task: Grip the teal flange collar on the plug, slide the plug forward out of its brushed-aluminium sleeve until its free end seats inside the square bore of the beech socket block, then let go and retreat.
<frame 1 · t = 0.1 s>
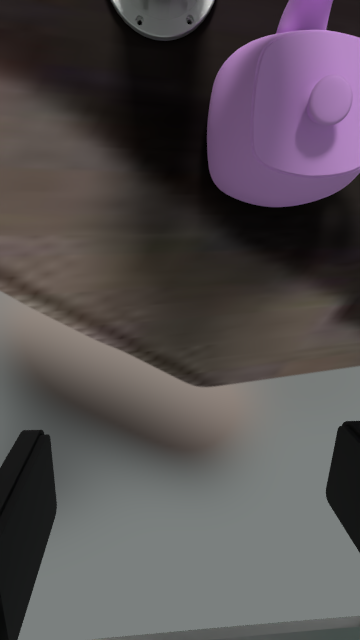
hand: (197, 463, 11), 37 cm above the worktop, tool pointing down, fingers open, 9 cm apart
teapot: (269, 132, 42), on the worktop
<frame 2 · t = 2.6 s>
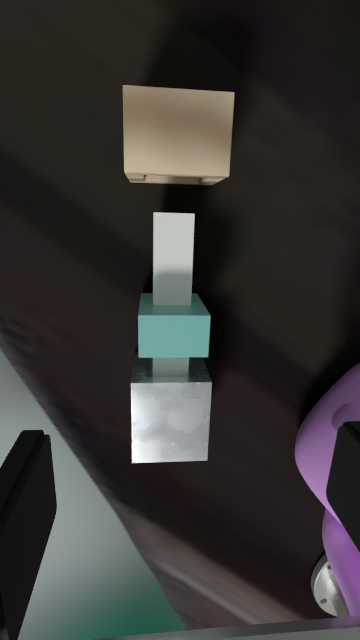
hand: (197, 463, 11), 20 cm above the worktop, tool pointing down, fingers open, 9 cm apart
plug: (170, 337, 26), point 4 cm above the worktop, slide at 0.0 cm
sleeve: (167, 386, 32), on the worktop
socket: (171, 152, 26), on the worktop
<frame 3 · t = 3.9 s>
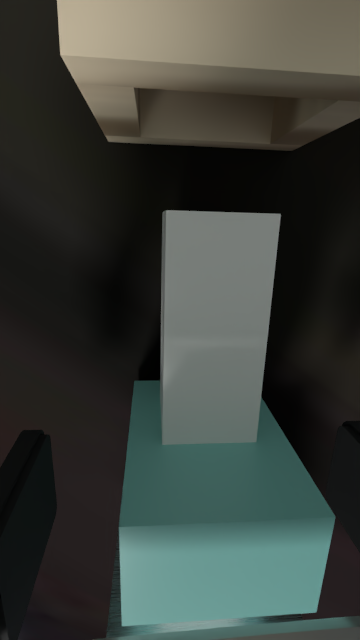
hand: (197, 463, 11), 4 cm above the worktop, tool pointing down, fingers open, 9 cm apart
plug: (202, 499, 11), point 4 cm above the worktop, slide at 0.0 cm
sleeve: (185, 542, 17), on the worktop
socket: (205, 70, 11), on the worktop
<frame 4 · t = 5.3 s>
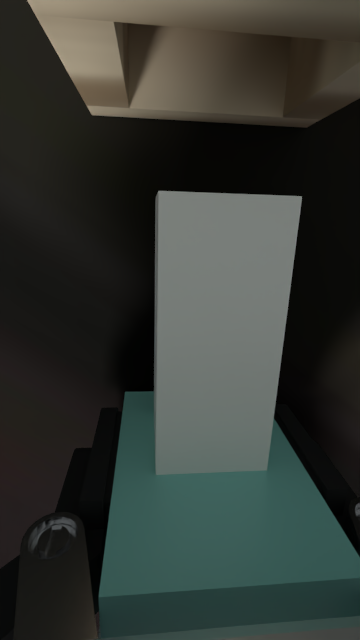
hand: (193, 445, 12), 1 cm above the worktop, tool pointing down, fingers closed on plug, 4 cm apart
plug: (202, 532, 10), point 4 cm above the worktop, slide at 0.0 cm, touching gripper
socket: (206, 29, 9), on the worktop
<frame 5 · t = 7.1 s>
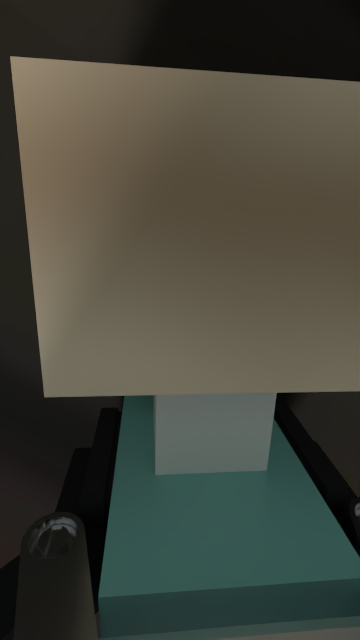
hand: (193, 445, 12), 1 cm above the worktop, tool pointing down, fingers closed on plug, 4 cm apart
plug: (202, 532, 10), point 4 cm above the worktop, slide at 5.5 cm, touching gripper
socket: (197, 233, 11), on the worktop
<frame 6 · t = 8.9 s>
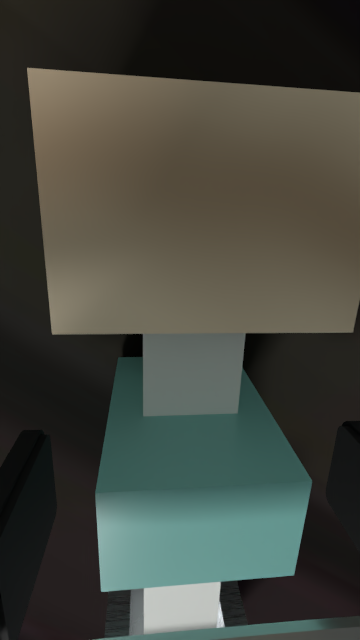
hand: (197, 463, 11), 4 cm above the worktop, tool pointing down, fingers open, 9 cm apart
plug: (184, 472, 11), point 4 cm above the worktop, slide at 5.5 cm
sleeve: (169, 593, 19), on the worktop
socket: (181, 214, 12), on the worktop
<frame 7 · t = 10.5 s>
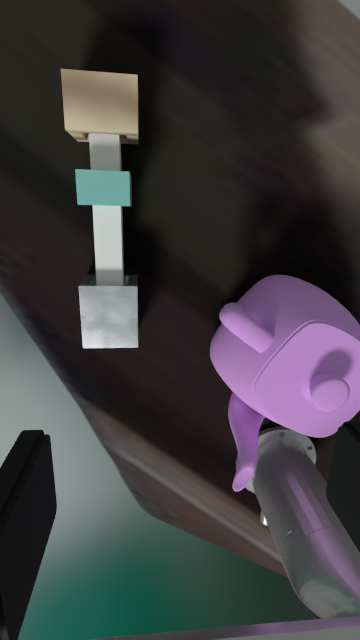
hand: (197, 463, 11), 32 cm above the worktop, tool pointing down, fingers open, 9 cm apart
plug: (107, 202, 35), point 4 cm above the worktop, slide at 5.5 cm
sleeve: (113, 302, 42), on the worktop
socket: (107, 119, 35), on the worktop
teapot: (270, 340, 46), on the worktop
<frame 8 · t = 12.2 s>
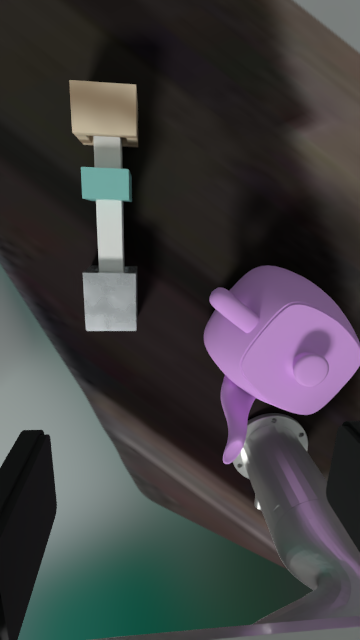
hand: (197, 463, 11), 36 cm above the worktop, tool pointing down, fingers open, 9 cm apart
plug: (109, 198, 38), point 4 cm above the worktop, slide at 5.5 cm
sleeve: (115, 291, 45), on the worktop
socket: (110, 124, 40), on the worktop
teapot: (261, 329, 49), on the worktop
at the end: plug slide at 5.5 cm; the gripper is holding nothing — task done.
